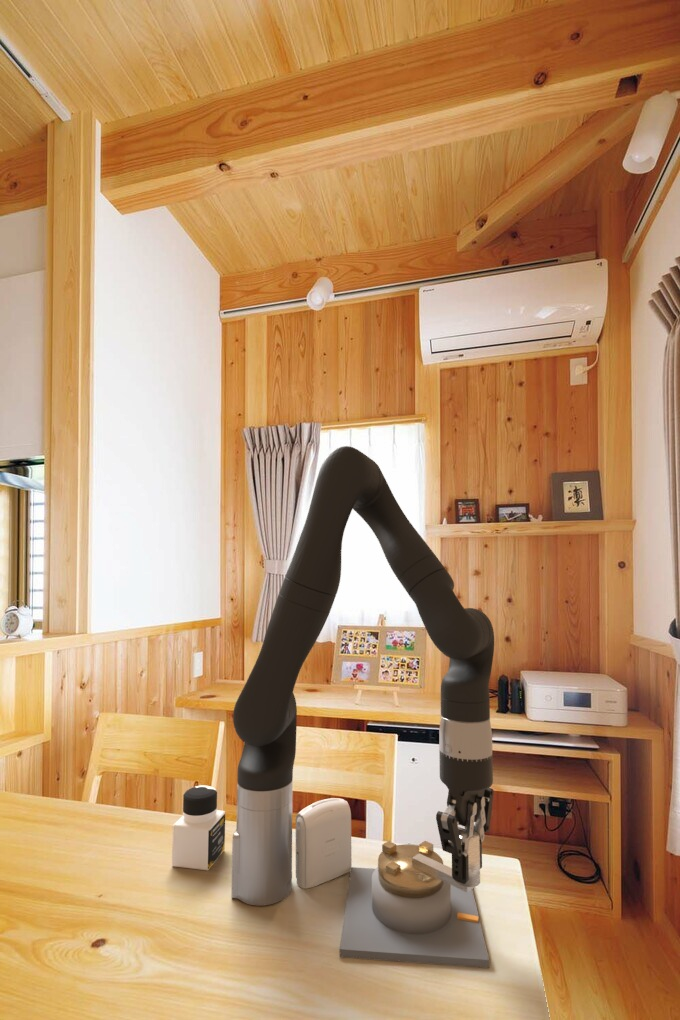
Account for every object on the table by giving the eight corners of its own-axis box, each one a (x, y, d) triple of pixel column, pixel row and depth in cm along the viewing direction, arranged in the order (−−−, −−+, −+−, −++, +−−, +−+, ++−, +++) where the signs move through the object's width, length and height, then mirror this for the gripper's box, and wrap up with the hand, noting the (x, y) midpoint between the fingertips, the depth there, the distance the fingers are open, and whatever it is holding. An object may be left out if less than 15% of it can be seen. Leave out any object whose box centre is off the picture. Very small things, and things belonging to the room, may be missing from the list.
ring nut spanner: (364, 878, 83) (364, 812, 84) (404, 853, 90) (404, 793, 91) (459, 929, 71) (458, 853, 72) (496, 896, 79) (495, 827, 79)
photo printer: (304, 893, 88) (304, 813, 89) (291, 880, 92) (291, 804, 93) (355, 873, 94) (355, 798, 95) (341, 861, 97) (341, 790, 98)
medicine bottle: (208, 871, 94) (210, 799, 95) (171, 867, 96) (173, 796, 97) (225, 850, 101) (226, 783, 102) (190, 846, 103) (191, 780, 104)
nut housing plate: (339, 957, 74) (339, 917, 74) (351, 873, 94) (351, 842, 94) (489, 968, 72) (488, 927, 72) (468, 880, 92) (468, 849, 92)
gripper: (467, 768, 71) (469, 909, 69) (509, 741, 82) (512, 862, 80) (417, 755, 75) (418, 886, 74) (464, 731, 86) (465, 845, 84)
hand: (467, 873), depth 77 cm, fingers closed on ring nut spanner, 3 cm apart
